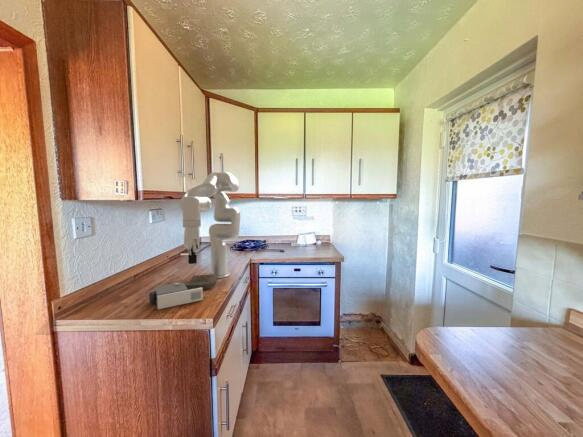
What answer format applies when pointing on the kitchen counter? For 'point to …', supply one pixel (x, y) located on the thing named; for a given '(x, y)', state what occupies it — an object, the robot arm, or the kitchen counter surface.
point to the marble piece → (201, 282)
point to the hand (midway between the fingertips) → (192, 263)
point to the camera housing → (166, 290)
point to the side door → (179, 298)
